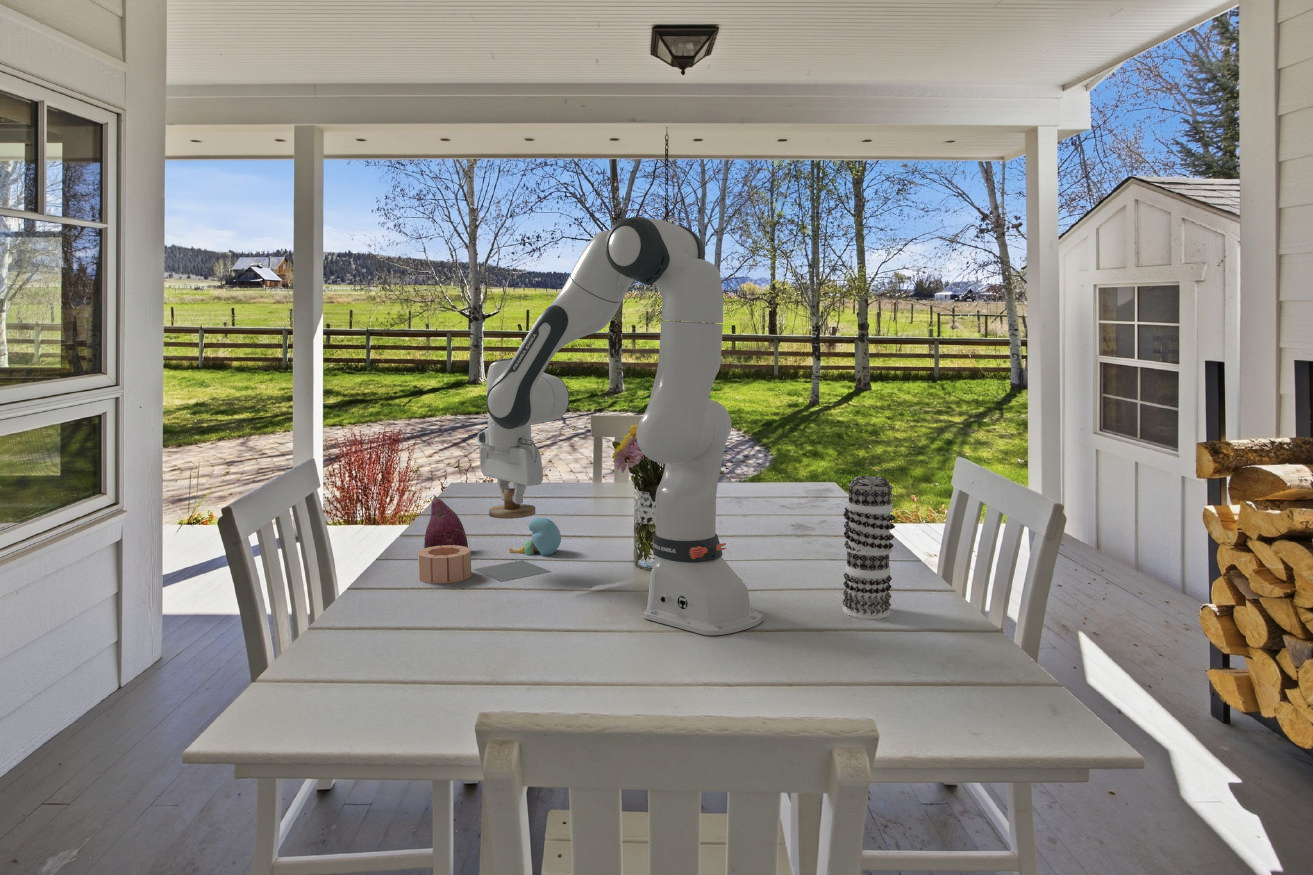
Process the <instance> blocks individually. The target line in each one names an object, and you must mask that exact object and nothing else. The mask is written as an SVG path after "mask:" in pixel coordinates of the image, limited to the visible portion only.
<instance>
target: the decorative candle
mask: <svg viewBox="0 0 1313 875" xmlns="http://www.w3.org/2000/svg"><path fill="white" fill-rule="evenodd" d="M847 487H848V501H847V506H846V507H844V510H845V511H844V513H843V514H842V515H843V517H844V519H845V520H846V521H845V522H844V524H843V527H844V528H845V530H844V532H843V536H844V538H845V539H846V540H845V542H844V544H843V545H844V550H845V551H847V552H846V563H845V573H844V574H843V578H844V580H845V581H844V582H843V586H844V588H845V589H844V590H843V591H842V595H843V597H844V598H843V599H842V604H843V605H844V606H843V607H842V611H843V613H844V614H845V615H848V616H849V615H850V617H853V618H856V619H862V620H863V619H864V620H879V619H881V618H882V619H885V618H887V617H889V616H890V614H891V611H890V607H892V603H891V602H890V600H891V599H892V595H891V593H890V592H889V591H890V590H891V589H892V585H891V581H892V580H893V577H892V576H891V566H890V554H892V552H893V548H894V544H893V543H892V542H891V541H892V540H893V539H894V537H895V536H894V535H893V534H891V531H892V530H893V529H895V528H896V526H895V524H893V523H892V522H893V521H894V520H896V516H894V515H893V513H892V512H893V502H892V489H894V486H893V485H891V484H890V482H889V480H887V478H885V477H882V476H877V475H860V476H856V477H854V479H853V480H852V481H851V483H849V484H847ZM884 617H885V618H884Z"/></svg>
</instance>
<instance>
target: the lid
mask: <svg viewBox="0 0 1313 875" xmlns="http://www.w3.org/2000/svg"><path fill="white" fill-rule="evenodd" d="M514 492H515V488H514V487H509V489H504V501H503V502H504V504H500V505H499V504H498V505H495V506H492V507H490V508H489V509H488V516H489V517H490V518H495V519H503V520H504V519H508V520H509V519H521V518H522V519H523V518H527V517H532V516H534V515H535V514H536V506H535V505H532V504H524V503H522V504H515V503H513V502H512V495H514Z"/></svg>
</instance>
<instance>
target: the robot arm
mask: <svg viewBox="0 0 1313 875" xmlns="http://www.w3.org/2000/svg"><path fill="white" fill-rule="evenodd" d="M705 250H706V249H705V246H704V244H703V241H702V239H701V238H700V237H699V236H698V235H697V233H695V231H693V230H691V229H690V228H688V227H685V226H683V225H677V224H675V223H671V222H669V221H667V220H664V219H660V218H659V219H657V218H646V217H643V216H631V217H626V218H623V219H621V220H619V221H617V222H616V223H615V224H614V225H613V226H611V228H610V230H602V231H599V232H598V233H596V234H595V235H594V236H593V237H592V238H591V240H590V241H589V242H588V244H587V245H586V247H584V250H583V251H582V253H581V254H580V256H579V257H578V259H577V260H576V262H575V264H574V265H573V268H572V270H571V272H570V274H569V275H568V277H567V280H566V282H565V283H564V285H563V287H562V288H561V290H560V291H559V293H558V295H557V296H556V297H555V298H554V300H553V301H552V302H551V303H550V304H549V306H548V307H547V308H546V309H545V310H544V311H543V312H542V313H541V314H540V316H538V318H537V319H536V321H535V323H534V324H533V325H532V327H531V328H530V330H529V331H528V333H527V335H526V336H525V337H524V340H523V341H522V343H521V344H520V346H519V347H518V350H517V351H516V352H515V354H514V356H513V357H509V358H503V359H502V358H501V359H499V360H495V361H493V362H492V363H491V364H490V365H489V368H488V370H487V376H486V398H485V403H486V404H485V405H486V408H487V412H488V417H487V418H488V419H487V428H485V429H483V430H481V431H480V432H478V433H477V442H478V443H479V444H480V446H479V448H478V449H479V452H478V453H479V466H480V468H479V469H480V471H481V474H482V475H483V476H484V477H487V478H490V479H496V480H497V486H498V490H500V498H501V500H502V501H503V502H504V489H509V488H510V486H509V484H510V483H513V488H515V492H514V495H512V502H513V503H515V504H524V494H525V491H526V488H527V487H532V486H533V487H534V486H537V485H538V486H539V485H541V484H542V482H543V480H544V471H543V469H544V468H543V462H542V455H541V452H540V450H539V449H538V446H537V445H536V443H535V441H534V440H533V439H532V425H535V424H537V425H538V424H542V423H546V422H552V421H556V420H557V419H561V418H562V417H563V416H564V415H565V414H566V413H567V410H568V408H569V406H570V392H569V389H568V387H567V385H566V383H565V382H564V380H563V379H561V377H559V376H557V375H551V374H548V373H546V372H545V371H546V368H547V367H548V365H549V363H550V362H551V360H552V358H553V357H554V356H555V354H556V353H558V352H559V350H561V349H562V348H564V347H565V346H566V345H568V344H570V343H572V342H574V341H576V340H578V339H581V338H583V337H587V336H589V335H592V334H594V333H597V332H599V331H601V330H603V329H604V328H605V327H607V325H608V324H609V323H610V321H611V320H612V319H613V318H614V317H615V315H616V313H617V311H618V310H619V308H620V306H621V304H622V302H623V301H624V299H625V297H626V294H627V293H628V289H629V288H630V286H631V285H632V283H633V282H634V281H636V282H638V283H640V284H643V285H645V286H651V285H653V284H654V285H655V286H656V288H658V290H659V292H660V295H661V315H660V316H661V318H660V319H661V321H660V335H659V348H658V349H659V351H658V363H657V368H656V373H655V378H654V382H653V386H652V389H651V394H650V396H649V400H648V403H647V407H646V409H645V411H644V413H643V415H642V417H640V419H639V422H638V424H637V426H636V432H635V437H636V443H637V445H638V448H639V450H640V451H641V453H642V454H643V455H644V456H645V457H646V458H648V459H649V460H650V461H653V462H656V463H658V464H659V463H660V464H664V469H663V474H662V477H661V480H660V482H659V485H658V486H657V487H656V488H657V489H656V493H655V533H653V535H652V536H653V537H652V539H653V540H652V553H653V555H654V561H653V564H652V565H653V566H652V569H651V571H650V576H649V578H650V579H649V587H648V588H649V589H648V597H647V604H646V609H644V611H643V619H645V620H649V621H653V622H656V623H659V624H664V625H667V626H671V627H674V628H677V629H682V630H686V631H689V632H692V633H697V634H700V635H704V636H722V635H727V634H734V633H737V632H741V631H744V630H745V631H746V630H747V629H750V628H755V627H756V626H758V625H759V624H761V623H762V622H763V621H764V616H763V614H762V613H760V612H759V611H756V610H754V609H753V608H751V606H750V595H749V589H748V587H747V585H746V583H745V582H743V578H742V579H741V577H739V576H738V574H736V572H735V570H733V569H732V567H731V566H730V565H729V564H728V563H727V561H726V560H725V558H724V557H723V556H724V555H723V550H727V547H724V546H726V545H727V543H726V542H724V543H720V538H719V536H718V534H717V533H716V531H717V529H716V526H717V522H716V520H717V519H716V518H717V514H716V513H717V493H718V486H719V485H718V484H719V478H720V473H721V471H722V470H721V468H722V465H723V459H724V453H725V448H726V444H727V441H728V439H729V437H730V435H731V432H732V419H731V415H730V413H729V411H728V410H727V409H726V407H725V406H724V405H722V404H721V403H720V402H718V401H716V400H714V399H710V396H711V391H712V389H713V384H714V381H715V379H716V376H717V375H718V373H719V371H720V368H721V365H722V364H721V358H722V345H723V342H722V341H723V330H724V329H723V326H724V324H723V323H724V295H723V284H722V277H721V273H720V270H719V269H718V268H717V266H716V265H715V264H713V263H711V262H710V261H707V260H705V256H706V251H705Z"/></svg>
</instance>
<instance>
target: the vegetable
mask: <svg viewBox="0 0 1313 875" xmlns="http://www.w3.org/2000/svg"><path fill="white" fill-rule="evenodd" d="M430 509H431V511H430V517H429V521H428V523H427V526H426V529H425V535H424V544H423V547H424V548H428V547H434V546H442V545H456V546H457V545H458V546H464V547H467V548H469V545H468V544H469V542H468V538H467V533H466V531H465V528H464V526H463V523H462V521H461V519H460V517H459V516H458V514H457V513H456V512H455V511H454V510H453V509H452V508H451V507H449V505H447V504H446V503H445V502H444V501H443V500H442V499H441V498H440V497H437V495H434V496H433V498H432V500H431V508H430ZM424 548H423V549H424Z"/></svg>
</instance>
